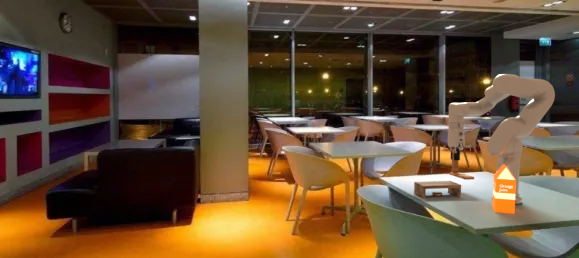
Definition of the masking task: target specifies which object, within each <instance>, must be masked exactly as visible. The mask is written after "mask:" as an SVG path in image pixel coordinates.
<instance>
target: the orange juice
mask: <svg viewBox="0 0 579 258" xmlns="http://www.w3.org/2000/svg"><path fill="white" fill-rule="evenodd" d="M492 185H493V186H492V189H493V190H492V197H493V200H492V205H491V206H492V209H493V211H494V212H495V213H504V214H514V215H515V210H516V209H515V207H516V204H515V191H516V180H515V178H514V177H513V176H512V174H511V173H510V171H509V170H508V169H507V167H506V166H505V165H504V164H503V165H502V166H501V167H500V169H499V170H498V171H497V170H496V172H495V174H493V184H492Z"/></svg>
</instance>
